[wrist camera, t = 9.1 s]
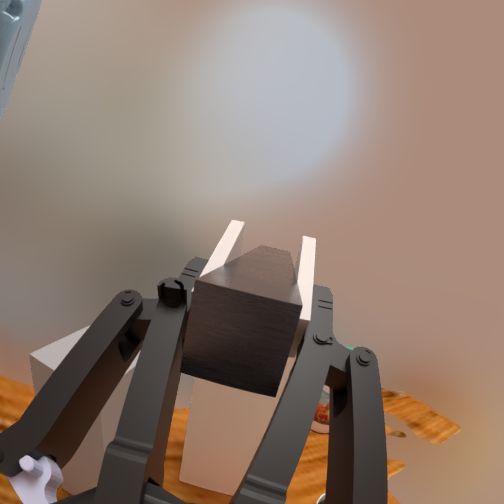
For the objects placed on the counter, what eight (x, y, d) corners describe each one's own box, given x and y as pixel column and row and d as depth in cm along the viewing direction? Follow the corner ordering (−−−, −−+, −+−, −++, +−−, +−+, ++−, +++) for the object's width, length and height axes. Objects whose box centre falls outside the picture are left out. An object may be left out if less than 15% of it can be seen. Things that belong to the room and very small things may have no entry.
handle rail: (179, 372, 10) (195, 279, 9) (255, 273, 35) (261, 245, 35) (275, 397, 9) (302, 305, 9) (283, 280, 35) (289, 251, 35)
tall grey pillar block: (62, 488, 22) (29, 353, 20) (105, 442, 36) (103, 319, 34) (117, 520, 21) (99, 396, 19) (152, 464, 35) (163, 341, 33)
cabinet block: (179, 480, 33) (207, 310, 30) (198, 438, 45) (229, 289, 42) (247, 499, 32) (308, 335, 29) (256, 453, 44) (303, 307, 41)
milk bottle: (297, 420, 57) (324, 344, 55) (319, 411, 62) (345, 340, 60) (321, 438, 51) (354, 360, 49) (342, 427, 55) (373, 354, 54)
